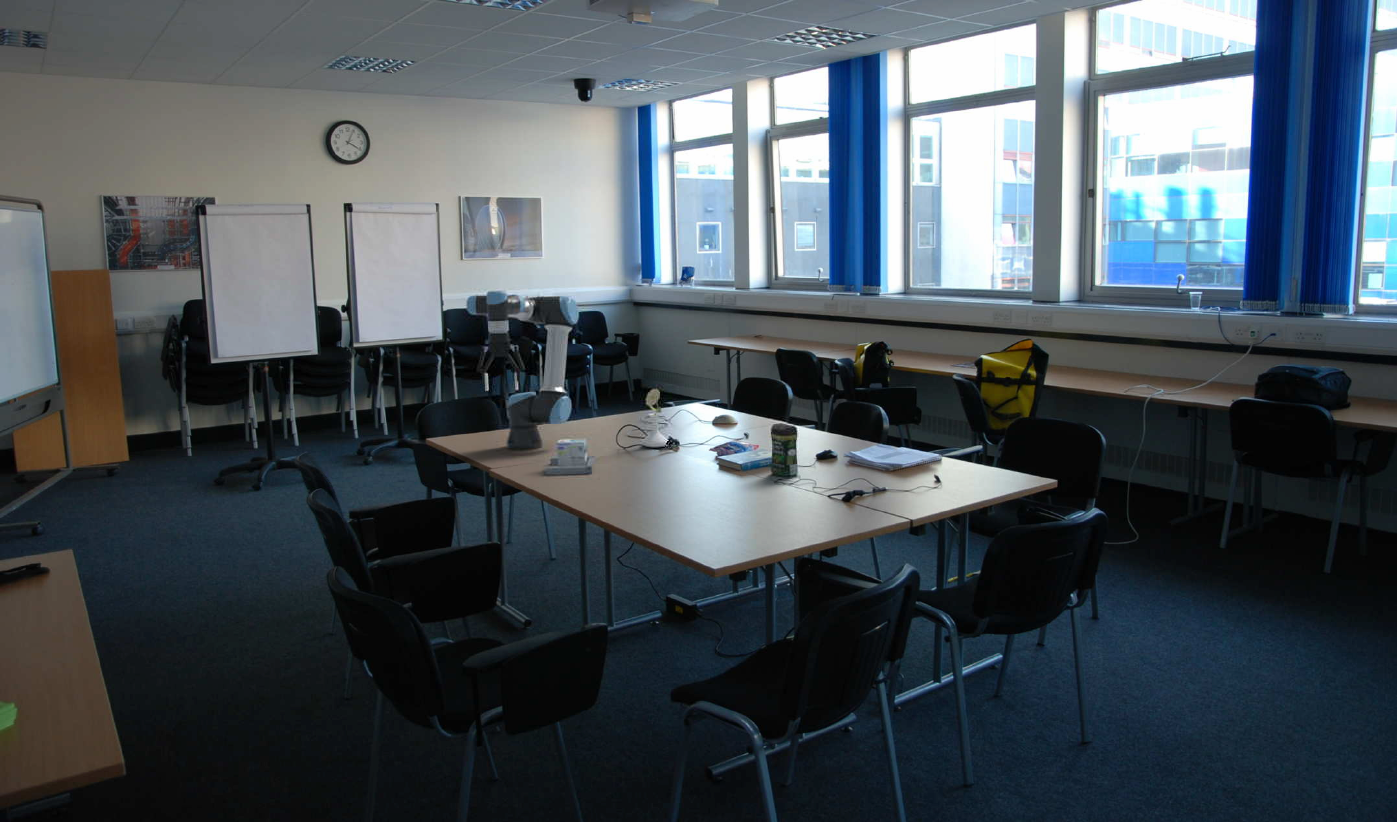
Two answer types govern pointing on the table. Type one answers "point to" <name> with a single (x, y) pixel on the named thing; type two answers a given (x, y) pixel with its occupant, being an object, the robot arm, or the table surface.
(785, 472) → the coffee jar
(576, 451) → the light bulb box
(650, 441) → the flower in vase
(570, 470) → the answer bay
